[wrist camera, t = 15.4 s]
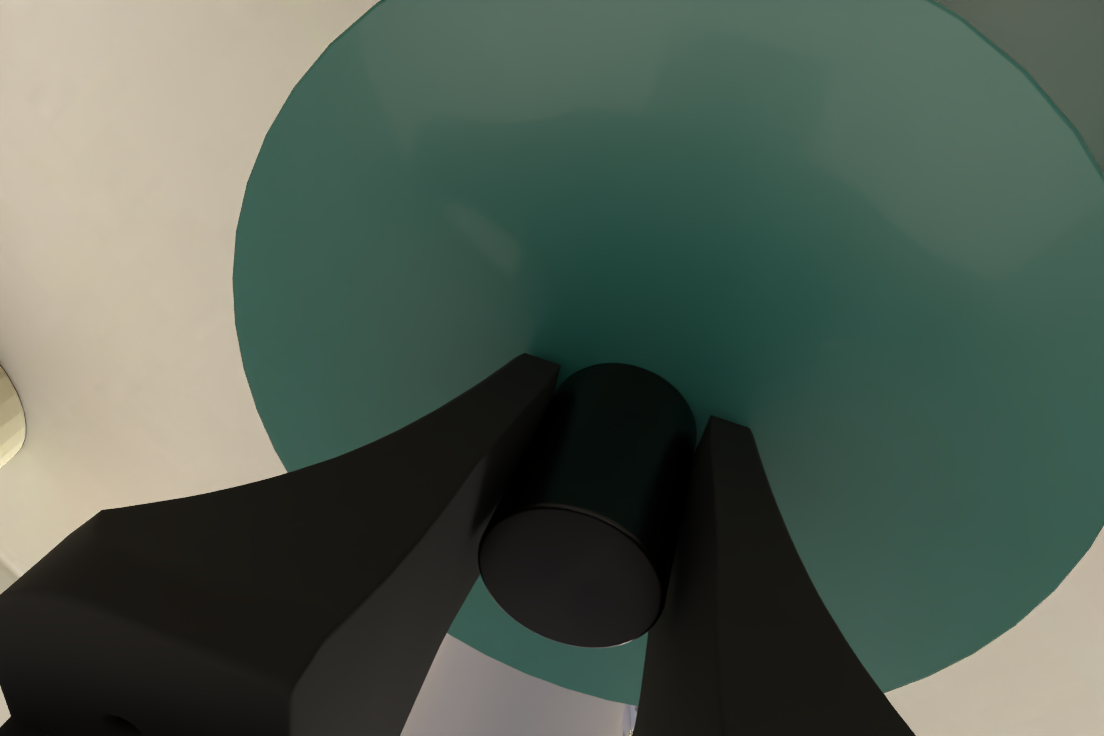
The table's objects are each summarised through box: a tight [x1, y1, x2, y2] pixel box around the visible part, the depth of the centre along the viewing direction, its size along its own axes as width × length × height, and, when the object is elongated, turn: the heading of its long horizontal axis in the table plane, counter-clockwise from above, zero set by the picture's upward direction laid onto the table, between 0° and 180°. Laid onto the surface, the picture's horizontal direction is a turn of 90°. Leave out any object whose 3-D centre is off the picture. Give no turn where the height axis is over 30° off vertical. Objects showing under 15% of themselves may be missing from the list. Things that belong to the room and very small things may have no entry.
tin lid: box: [233, 0, 1104, 706], centre depth 11 cm, size 14×14×4 cm
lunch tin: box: [936, 0, 1104, 173], centre depth 16 cm, size 13×13×5 cm
